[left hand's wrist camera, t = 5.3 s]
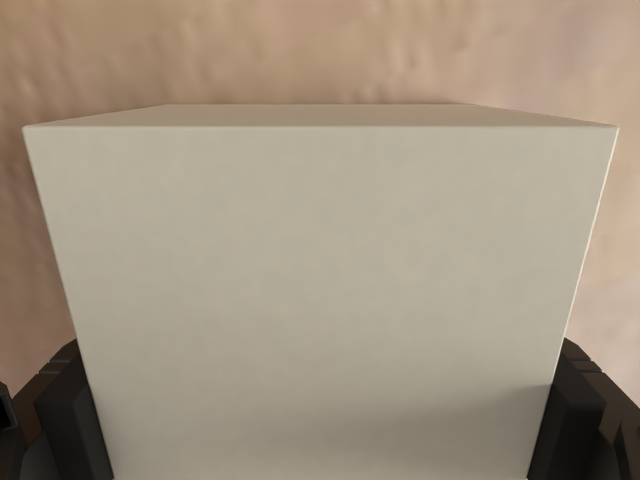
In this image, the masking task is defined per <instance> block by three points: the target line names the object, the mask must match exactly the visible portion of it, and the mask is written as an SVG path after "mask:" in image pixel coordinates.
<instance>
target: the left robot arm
mask: <svg viewBox="0 0 640 480" xmlns="http://www.w3.org/2000/svg"><path fill="white" fill-rule="evenodd" d="M113 478H114V477H113V474H112V470H111V466H110V462H109V458H108V455H107V451H106V447H105V443H104V440H103V436H102V432H101V428H100V425H99V421H98V417H97V413H96V409H95V406H94V402H93V398H92V394H91V391H90V387H89V383H88V379H87V376H86V372H85V368H84V364H83V360H82V357H81V353H80V349H79V345H78V342H77V338H76V339H74V340H73V341H71V342H70V343H68V344H66V345H65V346H63V347H62V348H61V349H60V350H59V351H58V352H57V353H56V354H55V355H54V356H53V357H52V358H51V359H50V362H49V363H46V365H45V366H44V367H43V368H42V369H41V370H40V371H39V374H36V375H35V376H34V377H33V378H32V379H31V380H30V381H29V382H28V383H27V384H26V385H25V386H24V387H23V388H22V389H21V390H20V391H19V392H18V393H17V394H16V395H15V396H14V397H13V398H12V399H11V397H10V394H9V391H8V388H7V385H5V384H4V383H2V382H0V480H113ZM527 479H528V480H640V408H639V407H638V406H637V405H636V404H635V403H634V402H633V401H632V400H631V399H630V398H629V397H628V396H627V395H626V394H625V393H624V392H623V391H622V390H621V389H620V388H619V387H618V386H617V385H616V384H615V383H614V382H613V381H612V380H611V379H610V378H609V377H608V376H607V375H606V374H605V373H602V370H601V369H600V368H599V367H598V366H597V364H596V363H595V362H594V361H591V358H590V357H589V356H588V355H587V354H586V353H585V352H584V351H583V350H582V349H581V348H580V347H579V346H578V345H576V344H575V343H573V342H572V341H570V340H568V339H567V338H565V337H564V340H563V343H562V347H561V351H560V355H559V358H558V362H557V366H556V370H555V374H554V377H553V381H552V385H551V389H550V392H549V396H548V400H547V404H546V407H545V411H544V415H543V419H542V422H541V426H540V430H539V434H538V437H537V441H536V445H535V449H534V452H533V456H532V460H531V464H530V468H529V471H528V475H527Z"/></svg>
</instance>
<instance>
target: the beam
mask: <svg viewBox="0 0 640 480" xmlns="http://www.w3.org/2000/svg"><path fill="white" fill-rule="evenodd" d="M618 133H619V128H618V127H617V126H615V125H609V124H602V123H595V122H589V121H582V120H575V119H569V118H562V117H555V116H548V115H542V114H535V113H528V112H521V111H515V110H508V109H501V108H494V107H488V106H481V105H474V104H166V105H160V106H153V107H146V108H139V109H133V110H126V111H119V112H112V113H106V114H99V115H92V116H85V117H79V118H72V119H65V120H58V121H52V122H45V123H38V124H31V125H26V126H24V127H22V134H23V138H24V142H25V146H26V149H27V153H28V157H29V161H30V165H31V168H32V172H33V176H34V180H35V183H36V187H37V191H38V195H39V198H40V202H41V206H42V210H43V214H44V217H45V221H46V225H47V229H48V232H49V236H50V240H51V244H52V247H53V251H54V255H55V259H56V263H57V266H58V270H59V274H60V278H61V281H62V285H63V289H64V293H65V296H66V300H67V304H68V308H69V311H70V315H71V319H72V323H73V327H74V330H75V334H76V338H77V342H78V345H79V349H80V353H81V357H82V360H83V364H84V368H85V372H86V376H87V379H88V383H89V387H90V391H91V394H92V398H93V402H94V406H95V409H96V413H97V417H98V421H99V425H100V428H101V432H102V436H103V440H104V443H105V447H106V451H107V455H108V458H109V462H110V466H111V470H112V474H113V477H114V480H526V479H527V475H528V471H529V468H530V464H531V460H532V456H533V452H534V449H535V445H536V441H537V437H538V434H539V430H540V426H541V422H542V419H543V415H544V411H545V407H546V404H547V400H548V396H549V392H550V389H551V385H552V381H553V377H554V374H555V370H556V366H557V362H558V358H559V355H560V351H561V347H562V343H563V340H564V336H565V332H566V328H567V325H568V321H569V317H570V313H571V310H572V306H573V302H574V298H575V295H576V291H577V287H578V283H579V279H580V276H581V272H582V268H583V264H584V261H585V257H586V253H587V249H588V246H589V242H590V238H591V234H592V231H593V227H594V223H595V219H596V216H597V212H598V208H599V204H600V201H601V197H602V193H603V189H604V185H605V182H606V178H607V174H608V170H609V167H610V163H611V159H612V155H613V152H614V148H615V144H616V140H617V137H618Z"/></svg>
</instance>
